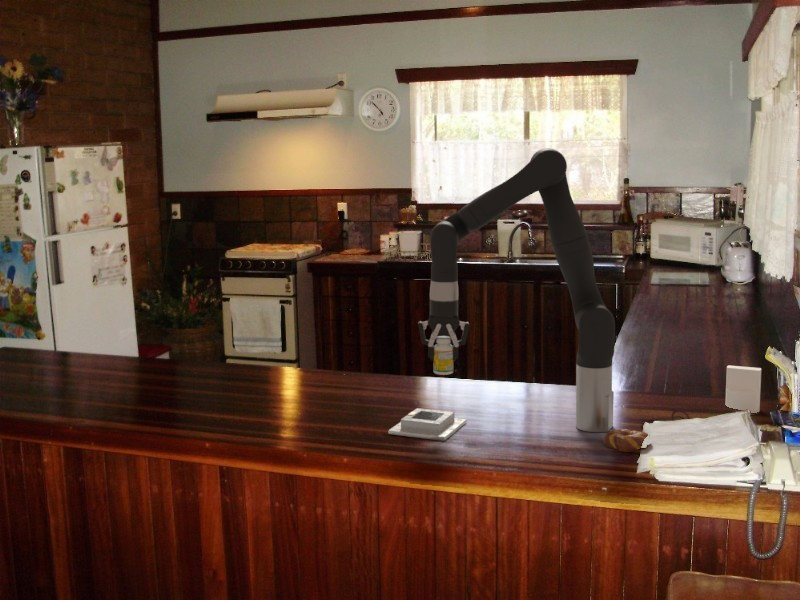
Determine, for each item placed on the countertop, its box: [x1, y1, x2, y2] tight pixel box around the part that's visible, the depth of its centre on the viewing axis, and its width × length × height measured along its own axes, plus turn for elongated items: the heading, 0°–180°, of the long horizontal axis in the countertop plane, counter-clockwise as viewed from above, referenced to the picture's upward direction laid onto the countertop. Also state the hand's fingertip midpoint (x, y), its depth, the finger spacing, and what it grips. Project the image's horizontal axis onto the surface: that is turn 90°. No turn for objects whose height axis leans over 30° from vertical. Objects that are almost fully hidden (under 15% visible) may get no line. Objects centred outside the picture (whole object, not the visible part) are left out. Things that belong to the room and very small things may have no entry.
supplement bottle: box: [432, 335, 454, 376], centre depth 238 cm, size 5×5×10 cm
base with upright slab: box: [724, 364, 762, 414], centre depth 249 cm, size 9×9×12 cm
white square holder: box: [388, 407, 467, 442], centre depth 240 cm, size 16×16×4 cm
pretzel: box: [602, 428, 649, 453], centre depth 224 cm, size 12×11×4 cm
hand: (443, 359), depth 239 cm, fingers closed on supplement bottle, 5 cm apart
